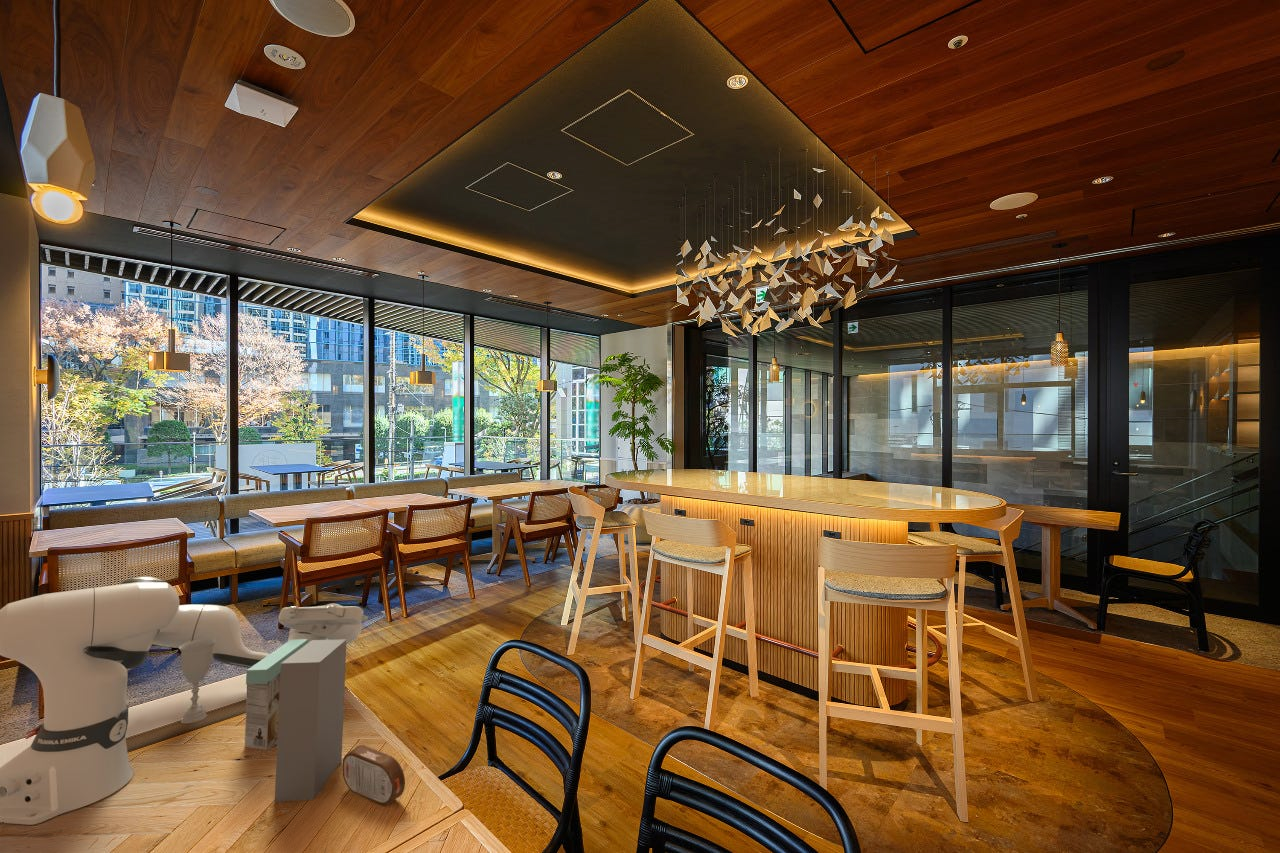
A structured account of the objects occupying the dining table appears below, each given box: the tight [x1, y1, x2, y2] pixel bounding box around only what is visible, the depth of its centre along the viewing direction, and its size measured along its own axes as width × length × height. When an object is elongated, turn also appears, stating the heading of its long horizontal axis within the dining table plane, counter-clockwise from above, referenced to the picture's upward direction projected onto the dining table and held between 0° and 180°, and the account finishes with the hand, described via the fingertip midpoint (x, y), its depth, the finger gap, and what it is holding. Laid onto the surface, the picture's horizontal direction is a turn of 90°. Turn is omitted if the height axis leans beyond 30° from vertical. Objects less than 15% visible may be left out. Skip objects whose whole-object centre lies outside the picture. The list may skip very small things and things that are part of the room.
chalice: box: [178, 639, 216, 724], centre depth 128 cm, size 7×7×18 cm
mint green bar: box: [245, 639, 308, 685], centre depth 121 cm, size 4×18×3 cm, turn 8°
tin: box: [342, 744, 406, 806], centre depth 101 cm, size 15×3×8 cm, turn 65°
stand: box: [273, 639, 347, 803], centre depth 106 cm, size 7×12×26 cm, turn 7°
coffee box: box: [244, 673, 280, 751], centre depth 120 cm, size 9×6×16 cm
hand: (311, 609), depth 136 cm, fingers open, 8 cm apart
